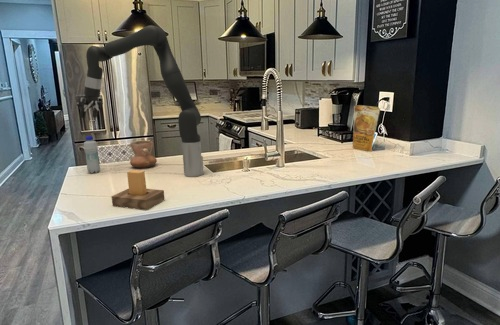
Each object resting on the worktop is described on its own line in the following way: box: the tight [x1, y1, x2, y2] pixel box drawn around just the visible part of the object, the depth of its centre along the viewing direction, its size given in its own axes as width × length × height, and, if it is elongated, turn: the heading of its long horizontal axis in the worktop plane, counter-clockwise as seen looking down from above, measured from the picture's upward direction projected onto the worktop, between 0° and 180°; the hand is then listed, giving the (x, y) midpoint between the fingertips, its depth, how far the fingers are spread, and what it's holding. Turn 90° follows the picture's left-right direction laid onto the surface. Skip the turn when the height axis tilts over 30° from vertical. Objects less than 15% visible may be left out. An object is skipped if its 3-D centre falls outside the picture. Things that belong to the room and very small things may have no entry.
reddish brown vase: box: [129, 140, 157, 169], centre depth 198 cm, size 18×14×14 cm
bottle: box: [83, 135, 101, 174], centre depth 186 cm, size 7×7×20 cm
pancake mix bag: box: [352, 104, 381, 152], centre depth 224 cm, size 7×19×28 cm, turn 30°
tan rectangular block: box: [126, 169, 147, 196], centre depth 139 cm, size 6×3×13 cm, turn 70°
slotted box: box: [111, 188, 166, 211], centre depth 140 cm, size 16×12×4 cm
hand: (88, 117), depth 181 cm, fingers open, 8 cm apart
